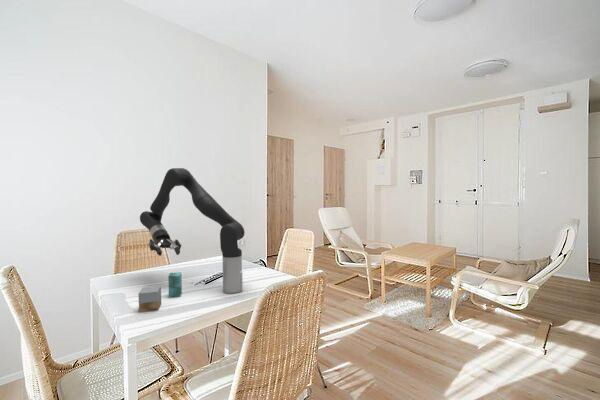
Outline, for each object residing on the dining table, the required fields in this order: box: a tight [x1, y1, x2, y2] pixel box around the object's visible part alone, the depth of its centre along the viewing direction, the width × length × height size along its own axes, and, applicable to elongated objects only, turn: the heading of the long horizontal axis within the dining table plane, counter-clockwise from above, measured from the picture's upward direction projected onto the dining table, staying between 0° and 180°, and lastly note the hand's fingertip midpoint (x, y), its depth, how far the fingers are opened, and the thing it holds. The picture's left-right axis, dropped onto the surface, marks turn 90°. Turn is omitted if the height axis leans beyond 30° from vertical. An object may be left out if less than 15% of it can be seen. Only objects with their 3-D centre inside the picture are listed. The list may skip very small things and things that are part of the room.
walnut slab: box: [138, 295, 162, 314], centre depth 115 cm, size 7×7×4 cm
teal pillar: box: [167, 271, 183, 299], centre depth 129 cm, size 5×5×10 cm
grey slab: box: [138, 285, 162, 304], centre depth 115 cm, size 7×7×4 cm
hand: (169, 253), depth 134 cm, fingers open, 8 cm apart
